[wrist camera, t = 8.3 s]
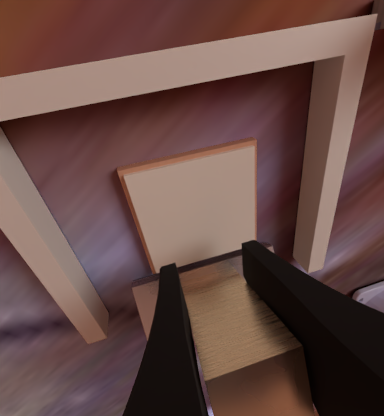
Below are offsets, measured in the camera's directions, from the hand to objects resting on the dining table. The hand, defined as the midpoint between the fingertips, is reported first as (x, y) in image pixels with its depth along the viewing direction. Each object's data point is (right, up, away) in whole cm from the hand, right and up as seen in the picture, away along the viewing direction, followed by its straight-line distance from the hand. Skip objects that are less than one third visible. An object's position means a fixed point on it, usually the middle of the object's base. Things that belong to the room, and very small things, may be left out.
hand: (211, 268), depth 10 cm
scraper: (0, -2, +3) cm, 4 cm away
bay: (-1, +3, +1) cm, 3 cm away
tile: (-1, +3, +2) cm, 3 cm away
